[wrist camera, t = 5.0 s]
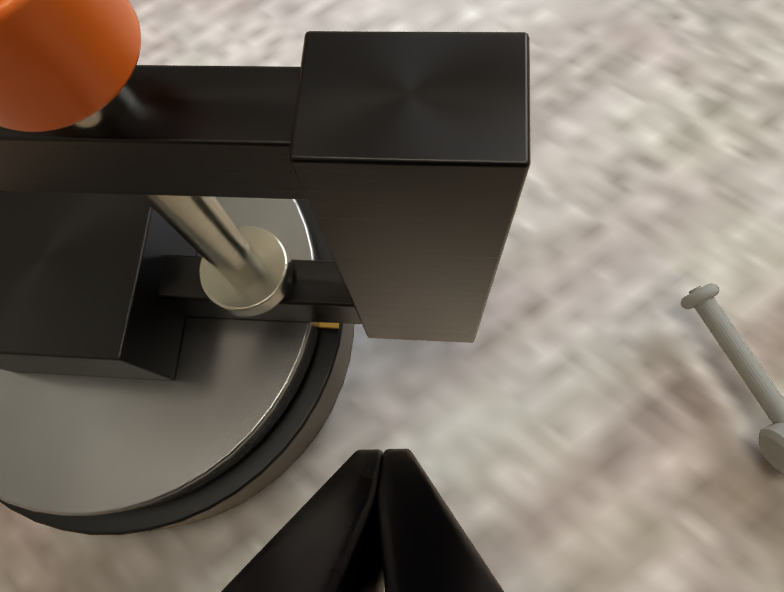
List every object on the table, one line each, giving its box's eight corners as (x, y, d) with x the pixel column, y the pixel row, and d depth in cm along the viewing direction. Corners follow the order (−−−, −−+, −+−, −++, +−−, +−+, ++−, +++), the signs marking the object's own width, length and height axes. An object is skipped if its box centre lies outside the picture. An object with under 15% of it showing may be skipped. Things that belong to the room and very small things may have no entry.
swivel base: (336, 543, 15) (321, 553, 13) (-62, 513, 16) (-133, 518, 14) (368, 165, 18) (360, 127, 16) (36, 157, 19) (-10, 120, 17)
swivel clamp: (467, 541, 13) (605, 787, 3) (-115, 497, 14) (-1588, 552, 4) (476, 141, 16) (557, -465, 6) (-3, 131, 17) (-653, -389, 7)
